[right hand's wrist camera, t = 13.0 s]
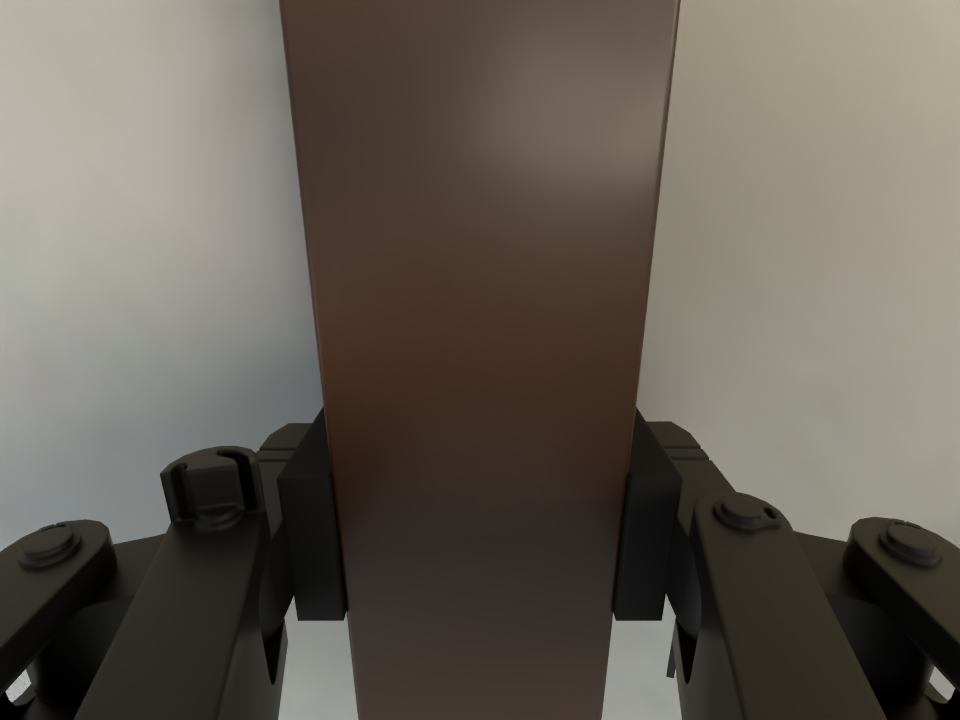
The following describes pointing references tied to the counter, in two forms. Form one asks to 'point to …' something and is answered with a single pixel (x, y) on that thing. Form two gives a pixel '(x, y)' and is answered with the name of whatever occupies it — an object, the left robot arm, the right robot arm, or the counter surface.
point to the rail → (479, 330)
